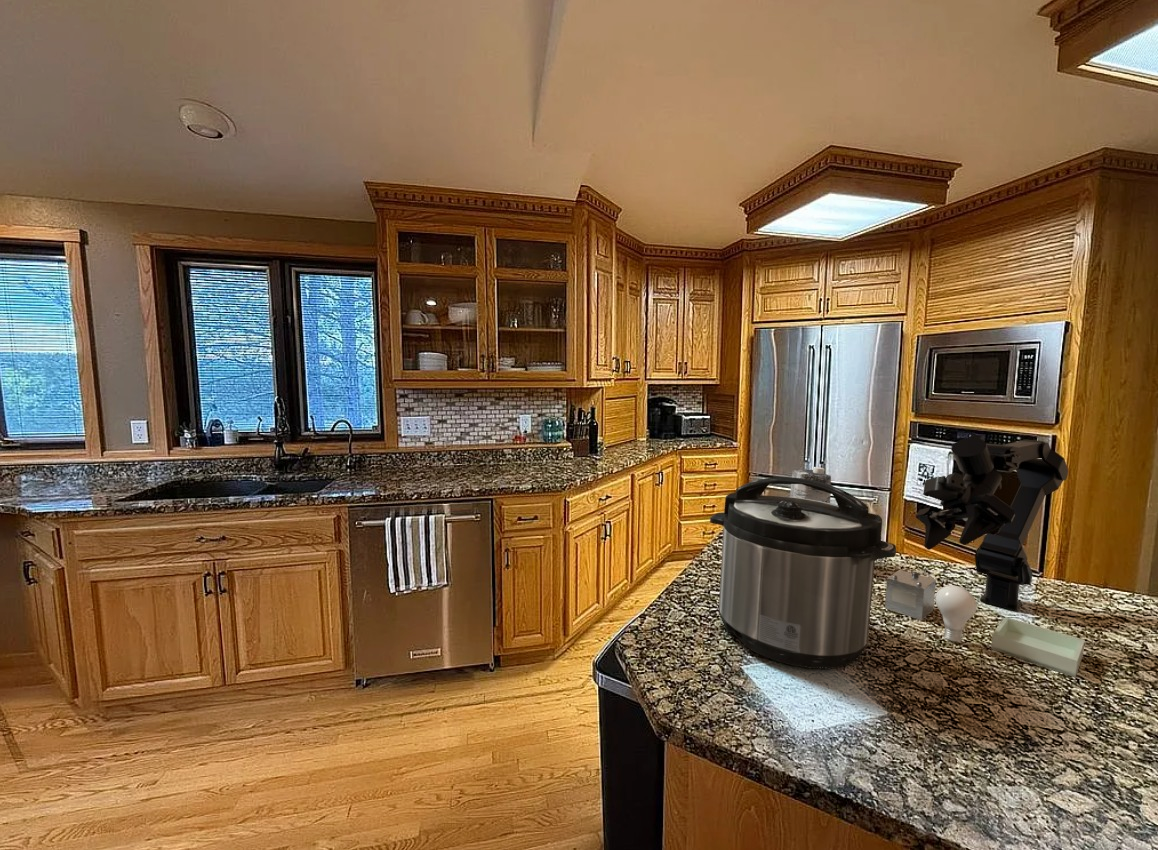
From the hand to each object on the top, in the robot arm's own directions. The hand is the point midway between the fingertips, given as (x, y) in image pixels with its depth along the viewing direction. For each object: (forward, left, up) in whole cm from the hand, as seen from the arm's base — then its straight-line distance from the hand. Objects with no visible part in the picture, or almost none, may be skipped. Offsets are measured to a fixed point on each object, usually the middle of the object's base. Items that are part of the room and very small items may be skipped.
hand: (943, 546), depth 96 cm
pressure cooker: (+26, -18, -18) cm, 36 cm away
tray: (-5, +14, -18) cm, 23 cm away
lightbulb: (+3, +3, -18) cm, 18 cm away
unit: (-6, -7, -18) cm, 20 cm away
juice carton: (-18, -36, -18) cm, 44 cm away
